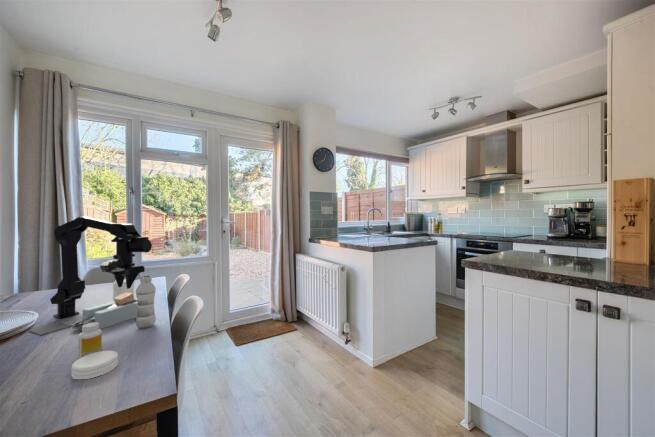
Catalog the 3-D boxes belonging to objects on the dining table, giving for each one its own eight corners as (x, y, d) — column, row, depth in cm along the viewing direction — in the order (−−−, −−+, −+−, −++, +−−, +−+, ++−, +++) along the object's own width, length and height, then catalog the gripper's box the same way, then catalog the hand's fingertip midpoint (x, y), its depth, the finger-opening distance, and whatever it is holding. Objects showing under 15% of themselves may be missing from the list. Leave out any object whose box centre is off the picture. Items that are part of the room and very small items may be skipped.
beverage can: (125, 307, 127) (125, 282, 127) (108, 307, 128) (108, 282, 128) (137, 302, 136) (137, 278, 136) (122, 301, 136) (122, 278, 136)
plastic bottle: (159, 325, 107) (159, 275, 107) (141, 331, 101) (142, 279, 101) (149, 322, 110) (149, 274, 110) (131, 328, 104) (132, 277, 104)
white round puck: (126, 363, 79) (126, 352, 79) (90, 384, 70) (90, 370, 70) (100, 359, 82) (100, 348, 82) (61, 378, 72) (61, 365, 72)
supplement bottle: (105, 352, 85) (106, 322, 85) (85, 361, 80) (86, 329, 80) (94, 349, 87) (95, 320, 87) (74, 357, 82) (74, 326, 82)
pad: (28, 331, 100) (28, 330, 100) (60, 322, 108) (60, 321, 108) (40, 335, 97) (40, 334, 97) (72, 326, 105) (72, 325, 105)
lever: (77, 330, 100) (76, 327, 100) (72, 328, 101) (71, 325, 101) (134, 299, 118) (133, 297, 118) (129, 298, 120) (128, 296, 119)
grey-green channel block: (99, 329, 103) (100, 313, 103) (82, 323, 108) (82, 309, 107) (146, 313, 119) (147, 300, 119) (130, 309, 124) (130, 297, 124)
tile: (115, 303, 115) (113, 298, 115) (127, 296, 120) (125, 292, 119) (122, 304, 113) (120, 299, 113) (134, 298, 118) (132, 293, 117)
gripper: (90, 253, 112) (89, 289, 112) (117, 256, 105) (116, 295, 105) (119, 250, 123) (119, 283, 123) (145, 252, 115) (145, 288, 115)
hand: (124, 287), depth 116 cm, fingers open, 6 cm apart
